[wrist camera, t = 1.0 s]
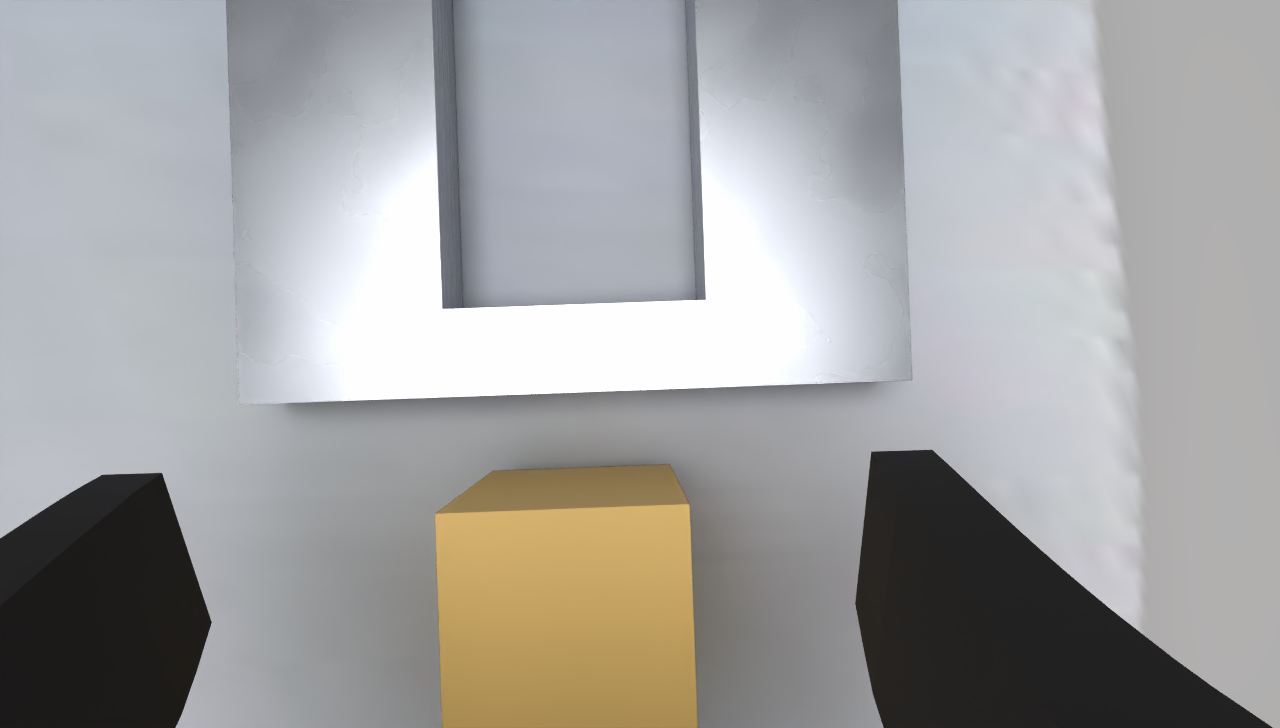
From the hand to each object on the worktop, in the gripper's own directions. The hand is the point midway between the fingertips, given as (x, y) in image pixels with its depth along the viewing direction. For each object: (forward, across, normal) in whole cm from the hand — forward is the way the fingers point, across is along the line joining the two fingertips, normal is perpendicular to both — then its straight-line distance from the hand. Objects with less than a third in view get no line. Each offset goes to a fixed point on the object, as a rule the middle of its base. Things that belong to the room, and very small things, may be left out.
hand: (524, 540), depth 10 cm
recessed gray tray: (+14, 0, -1) cm, 14 cm away
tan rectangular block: (+8, 0, +8) cm, 12 cm away
